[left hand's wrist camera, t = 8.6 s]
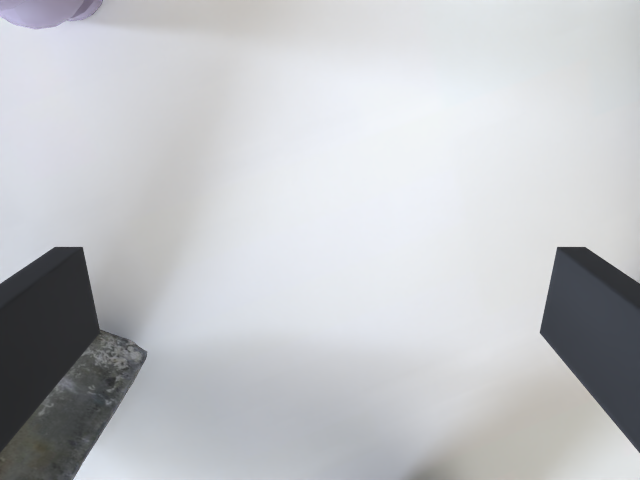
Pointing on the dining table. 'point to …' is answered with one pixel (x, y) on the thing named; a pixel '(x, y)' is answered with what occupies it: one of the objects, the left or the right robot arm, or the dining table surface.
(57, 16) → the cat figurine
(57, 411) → the concrete block
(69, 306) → the left robot arm
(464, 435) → the dining table surface
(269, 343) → the dining table surface
